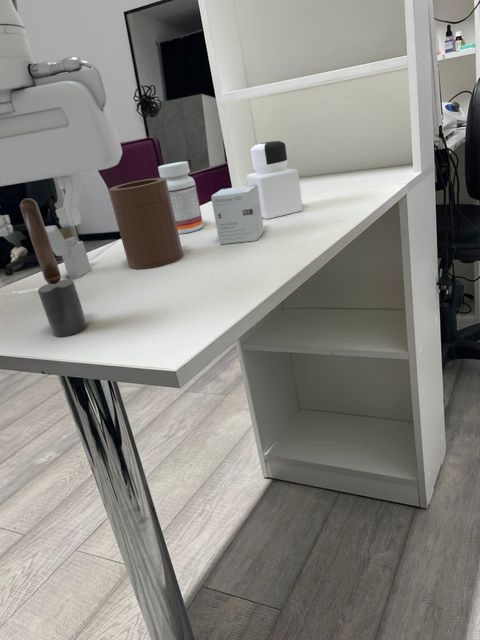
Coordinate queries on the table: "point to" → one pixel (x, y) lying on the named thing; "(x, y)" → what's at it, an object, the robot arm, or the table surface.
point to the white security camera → (275, 180)
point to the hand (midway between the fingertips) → (37, 230)
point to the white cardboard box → (238, 214)
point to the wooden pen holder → (146, 223)
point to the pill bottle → (182, 196)
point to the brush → (53, 279)
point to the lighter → (69, 252)
